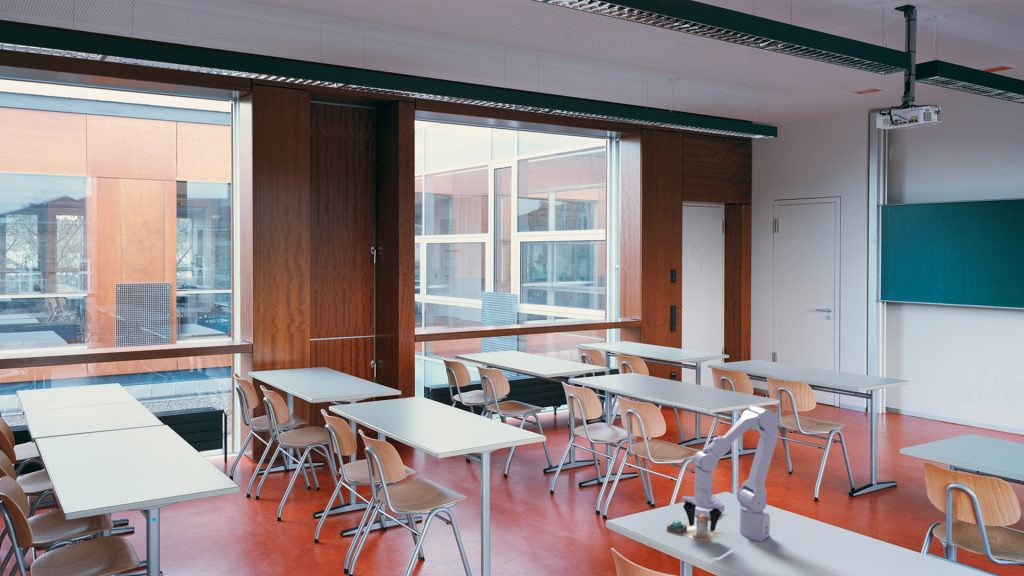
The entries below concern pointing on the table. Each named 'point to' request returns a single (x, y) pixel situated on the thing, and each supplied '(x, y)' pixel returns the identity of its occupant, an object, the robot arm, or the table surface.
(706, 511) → the wedge on round base
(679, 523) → the button
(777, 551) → the table surface
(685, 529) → the beige base plate
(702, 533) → the capsule peg
